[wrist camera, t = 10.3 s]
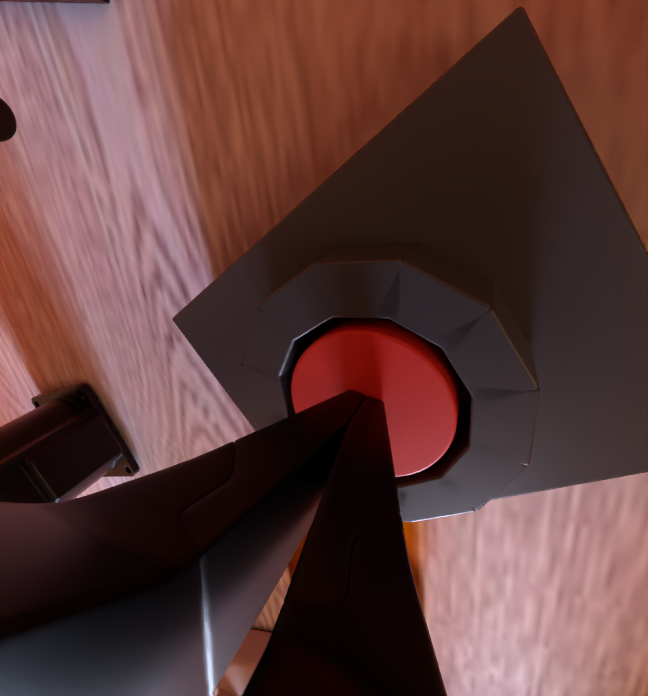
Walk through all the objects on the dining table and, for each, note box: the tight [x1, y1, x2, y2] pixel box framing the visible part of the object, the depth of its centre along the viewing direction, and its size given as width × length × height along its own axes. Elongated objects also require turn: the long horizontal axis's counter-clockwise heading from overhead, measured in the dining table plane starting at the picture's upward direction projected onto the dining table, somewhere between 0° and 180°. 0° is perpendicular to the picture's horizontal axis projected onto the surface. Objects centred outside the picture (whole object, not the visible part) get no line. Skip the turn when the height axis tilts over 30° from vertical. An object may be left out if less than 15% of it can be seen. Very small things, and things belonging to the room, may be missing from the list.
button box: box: [173, 7, 648, 522], centre depth 10 cm, size 12×10×4 cm
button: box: [291, 317, 463, 477], centre depth 9 cm, size 4×4×2 cm
